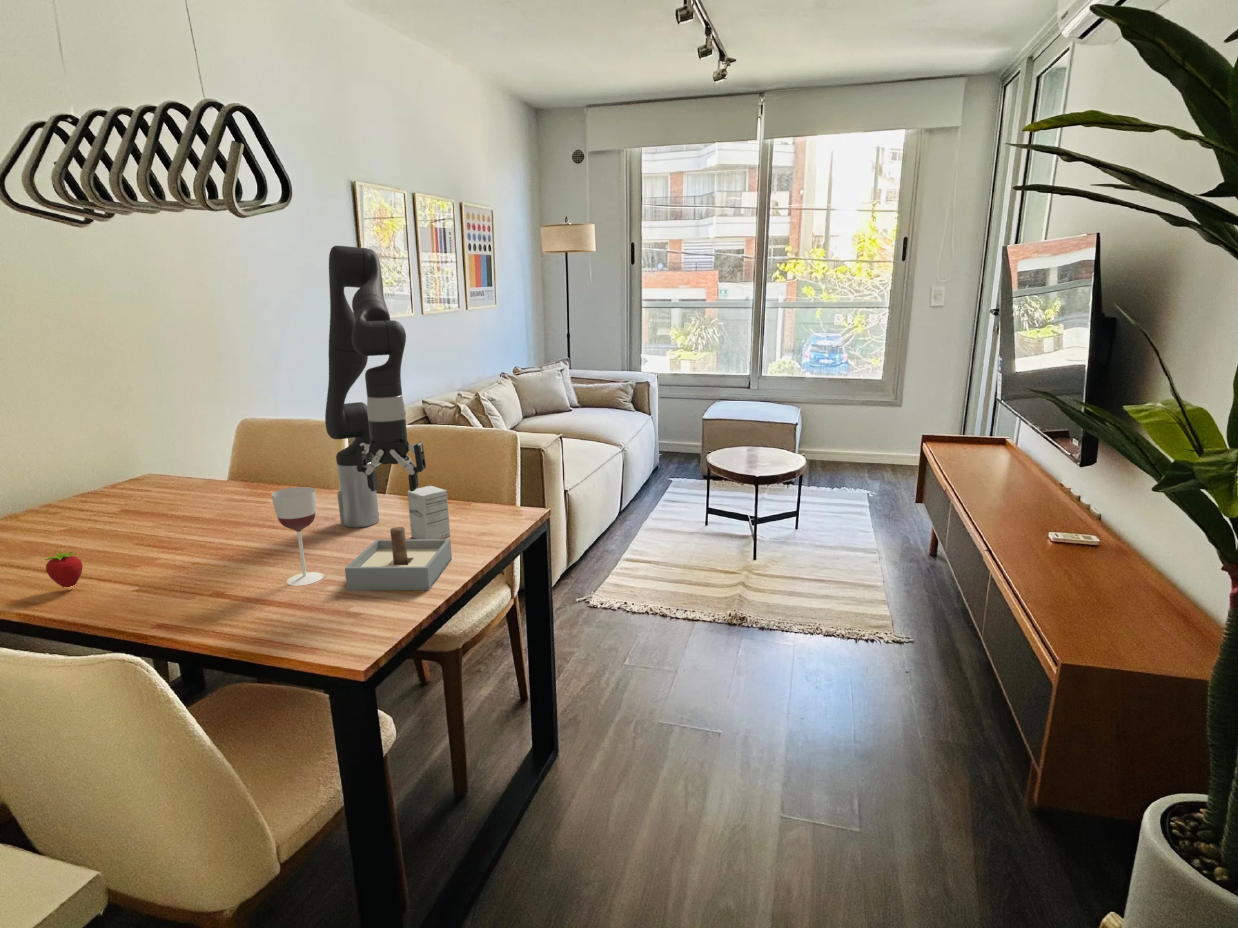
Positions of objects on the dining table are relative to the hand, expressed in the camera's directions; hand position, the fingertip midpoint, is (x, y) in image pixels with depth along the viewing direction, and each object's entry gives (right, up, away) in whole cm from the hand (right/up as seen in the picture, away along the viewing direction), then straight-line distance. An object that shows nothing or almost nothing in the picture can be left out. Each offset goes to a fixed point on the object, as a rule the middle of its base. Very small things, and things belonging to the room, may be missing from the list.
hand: (393, 490), depth 150 cm
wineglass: (-21, -20, +3) cm, 29 cm away
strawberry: (-70, -22, -1) cm, 73 cm away
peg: (0, -18, +4) cm, 19 cm away
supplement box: (0, -13, +29) cm, 31 cm away
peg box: (0, -19, +5) cm, 20 cm away
